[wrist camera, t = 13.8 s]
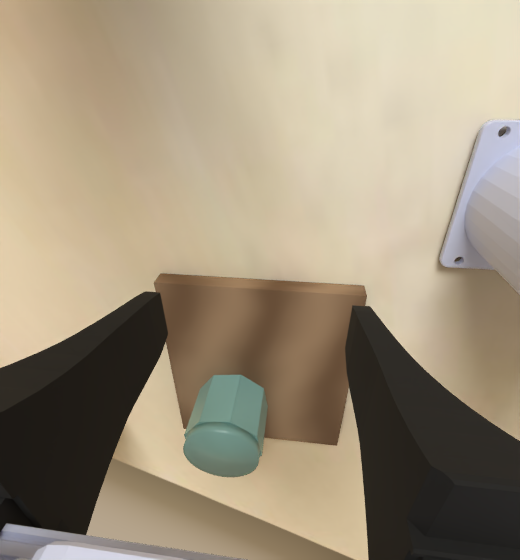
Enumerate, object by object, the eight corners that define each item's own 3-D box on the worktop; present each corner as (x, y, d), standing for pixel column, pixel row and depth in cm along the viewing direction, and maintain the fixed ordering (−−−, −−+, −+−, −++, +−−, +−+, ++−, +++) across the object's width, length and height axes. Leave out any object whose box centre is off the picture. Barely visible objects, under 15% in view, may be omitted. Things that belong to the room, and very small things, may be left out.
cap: (195, 375, 27) (173, 431, 23) (260, 374, 26) (251, 432, 22) (210, 418, 29) (194, 475, 25) (270, 418, 28) (264, 478, 24)
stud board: (364, 285, 22) (374, 326, 18) (336, 433, 30) (339, 480, 27) (160, 273, 23) (134, 309, 20) (187, 417, 32) (172, 460, 28)
